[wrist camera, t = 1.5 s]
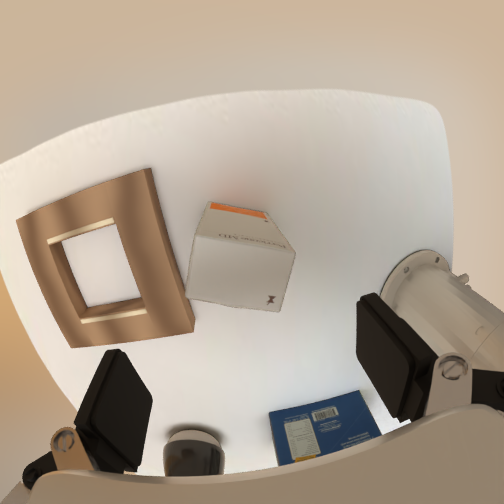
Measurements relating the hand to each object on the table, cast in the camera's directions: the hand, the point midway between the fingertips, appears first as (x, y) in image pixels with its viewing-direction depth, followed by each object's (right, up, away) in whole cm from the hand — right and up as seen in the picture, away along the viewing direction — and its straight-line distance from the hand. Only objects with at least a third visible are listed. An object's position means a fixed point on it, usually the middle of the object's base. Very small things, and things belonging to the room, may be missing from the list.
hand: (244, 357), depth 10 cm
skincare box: (-2, +7, +17) cm, 19 cm away
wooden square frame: (-16, +2, +17) cm, 23 cm away
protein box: (+11, -24, +30) cm, 40 cm away
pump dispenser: (-10, -28, +29) cm, 41 cm away
